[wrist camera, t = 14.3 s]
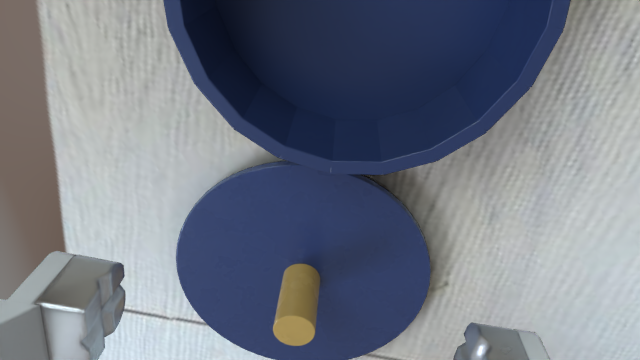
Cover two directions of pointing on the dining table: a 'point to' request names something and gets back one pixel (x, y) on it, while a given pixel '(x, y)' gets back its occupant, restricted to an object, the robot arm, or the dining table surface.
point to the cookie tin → (364, 72)
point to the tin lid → (303, 262)
